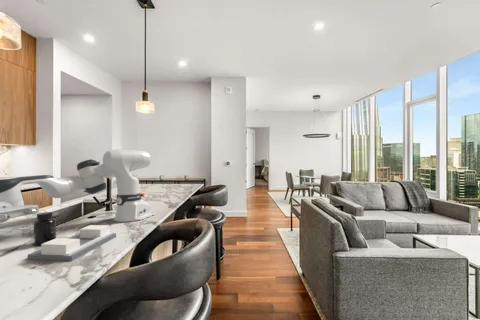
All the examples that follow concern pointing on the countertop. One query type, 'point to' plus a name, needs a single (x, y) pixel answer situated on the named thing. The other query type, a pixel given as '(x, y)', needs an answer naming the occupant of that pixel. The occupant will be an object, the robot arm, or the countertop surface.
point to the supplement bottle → (44, 228)
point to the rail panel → (82, 241)
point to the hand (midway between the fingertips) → (21, 214)
